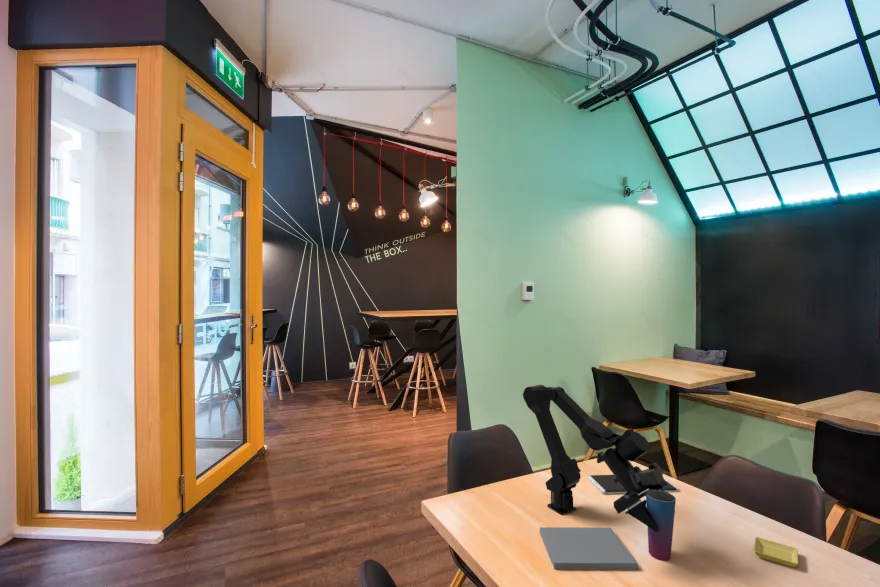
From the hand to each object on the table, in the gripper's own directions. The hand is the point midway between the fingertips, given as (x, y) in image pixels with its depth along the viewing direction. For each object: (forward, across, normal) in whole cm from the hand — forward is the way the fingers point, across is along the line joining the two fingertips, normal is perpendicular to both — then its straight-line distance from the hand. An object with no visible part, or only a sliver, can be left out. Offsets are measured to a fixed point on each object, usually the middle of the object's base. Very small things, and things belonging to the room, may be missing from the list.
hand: (664, 527), depth 106 cm
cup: (+4, 0, +6) cm, 8 cm away
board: (-5, -13, +16) cm, 21 cm away
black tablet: (-13, +34, +25) cm, 44 cm away
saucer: (+18, +23, -6) cm, 29 cm away
